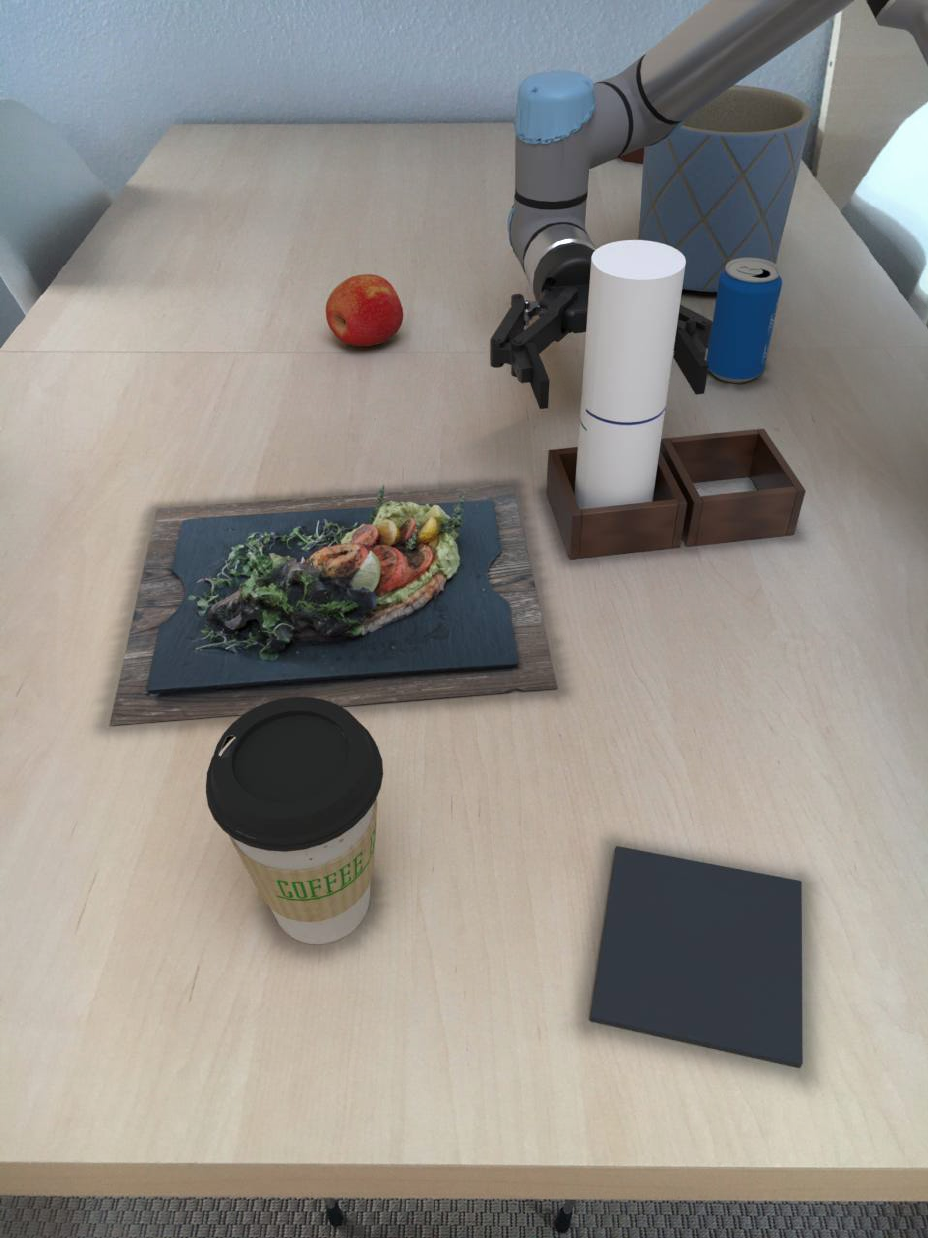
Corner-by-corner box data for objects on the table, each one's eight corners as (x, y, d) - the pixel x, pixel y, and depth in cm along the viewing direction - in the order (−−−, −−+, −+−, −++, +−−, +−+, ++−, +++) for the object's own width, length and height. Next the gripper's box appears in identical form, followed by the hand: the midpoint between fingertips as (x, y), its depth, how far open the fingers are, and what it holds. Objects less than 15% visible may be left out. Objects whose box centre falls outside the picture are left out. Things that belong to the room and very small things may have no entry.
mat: (799, 885, 64) (801, 880, 64) (800, 1068, 56) (802, 1064, 55) (615, 850, 66) (616, 845, 66) (589, 1021, 58) (590, 1016, 58)
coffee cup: (378, 983, 60) (355, 842, 50) (224, 958, 61) (170, 816, 51) (412, 847, 67) (398, 698, 57) (273, 827, 68) (234, 678, 58)
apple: (412, 347, 117) (408, 283, 112) (348, 366, 114) (341, 301, 109) (383, 321, 122) (377, 258, 117) (320, 338, 120) (312, 274, 114)
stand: (754, 471, 98) (764, 427, 94) (794, 534, 90) (806, 490, 87) (546, 493, 96) (548, 449, 92) (569, 559, 89) (572, 515, 85)
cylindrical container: (608, 553, 89) (636, 288, 72) (557, 514, 93) (572, 255, 76) (665, 523, 92) (705, 262, 75) (613, 487, 96) (640, 232, 79)
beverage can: (751, 391, 109) (772, 287, 100) (696, 376, 111) (712, 273, 103) (771, 366, 113) (793, 263, 104) (717, 352, 115) (734, 251, 107)
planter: (644, 305, 124) (663, 136, 110) (621, 243, 138) (635, 86, 124) (795, 300, 124) (833, 131, 111) (757, 238, 138) (786, 81, 124)
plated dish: (511, 479, 98) (512, 416, 92) (563, 692, 78) (568, 626, 72) (152, 512, 95) (132, 449, 90) (110, 739, 75) (82, 674, 70)
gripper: (684, 304, 102) (758, 412, 87) (445, 324, 100) (478, 439, 85) (695, 231, 97) (775, 333, 82) (443, 251, 95) (477, 360, 80)
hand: (624, 387), depth 83 cm, fingers open, 13 cm apart
